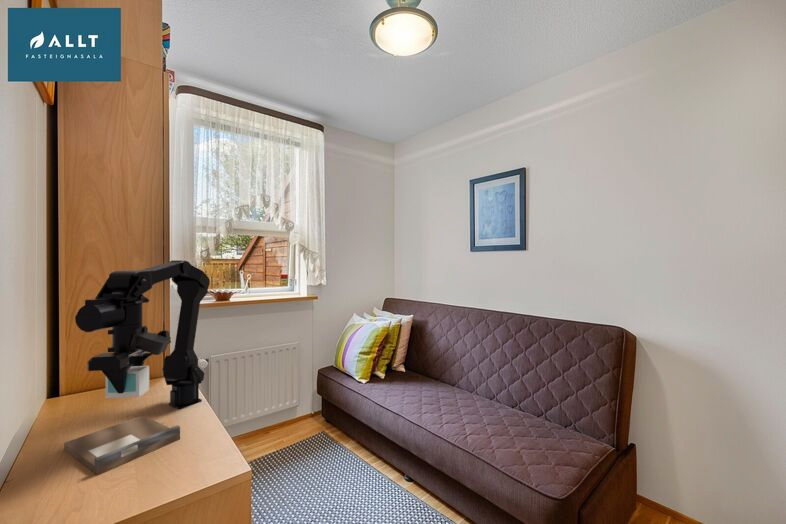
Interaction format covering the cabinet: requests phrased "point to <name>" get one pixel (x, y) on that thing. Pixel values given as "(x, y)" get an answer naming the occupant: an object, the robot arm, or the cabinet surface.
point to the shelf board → (121, 443)
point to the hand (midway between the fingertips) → (127, 389)
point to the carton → (130, 383)
